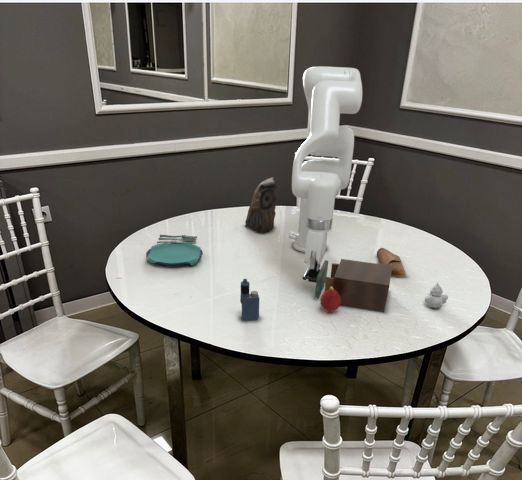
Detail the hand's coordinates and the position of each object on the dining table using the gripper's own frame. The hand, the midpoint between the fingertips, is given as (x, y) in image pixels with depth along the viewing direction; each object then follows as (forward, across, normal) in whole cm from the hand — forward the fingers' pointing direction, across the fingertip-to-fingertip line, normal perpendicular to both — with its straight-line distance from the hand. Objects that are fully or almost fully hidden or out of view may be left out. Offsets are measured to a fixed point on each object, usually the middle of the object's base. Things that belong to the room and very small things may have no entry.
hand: (313, 281), depth 147 cm
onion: (+4, +12, +7) cm, 15 cm away
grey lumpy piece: (+4, -2, +37) cm, 37 cm away
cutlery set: (+3, -14, -53) cm, 55 cm away
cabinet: (+3, 0, +15) cm, 15 cm away
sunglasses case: (+3, -28, +23) cm, 37 cm away
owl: (+3, -52, -32) cm, 61 cm away
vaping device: (+4, +24, -14) cm, 28 cm away
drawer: (+2, 0, +7) cm, 7 cm away
